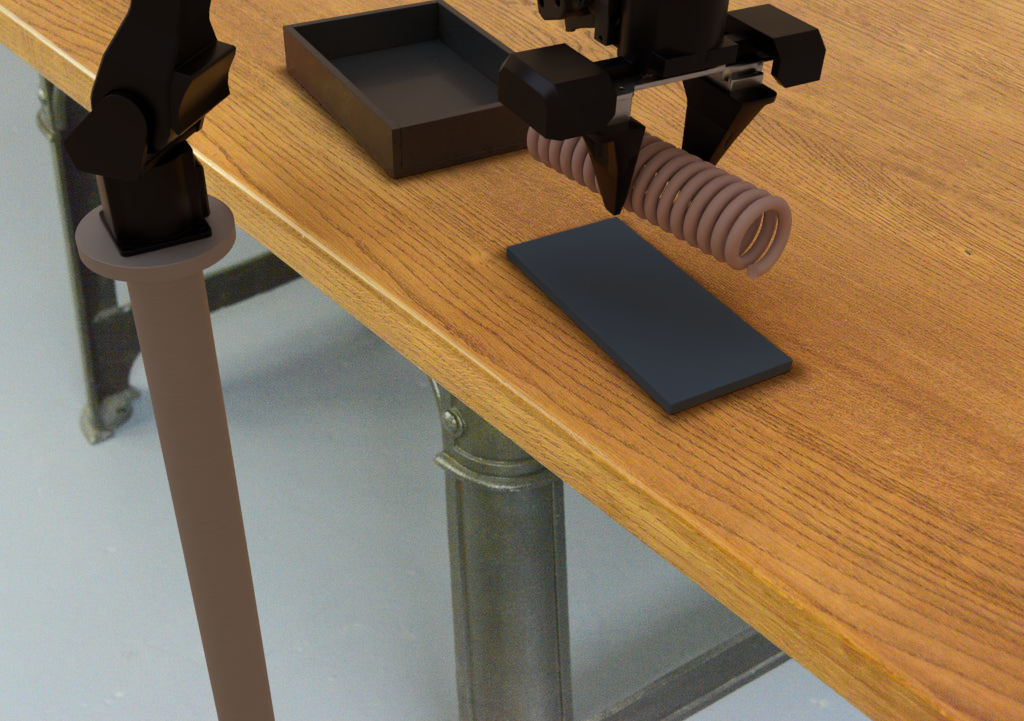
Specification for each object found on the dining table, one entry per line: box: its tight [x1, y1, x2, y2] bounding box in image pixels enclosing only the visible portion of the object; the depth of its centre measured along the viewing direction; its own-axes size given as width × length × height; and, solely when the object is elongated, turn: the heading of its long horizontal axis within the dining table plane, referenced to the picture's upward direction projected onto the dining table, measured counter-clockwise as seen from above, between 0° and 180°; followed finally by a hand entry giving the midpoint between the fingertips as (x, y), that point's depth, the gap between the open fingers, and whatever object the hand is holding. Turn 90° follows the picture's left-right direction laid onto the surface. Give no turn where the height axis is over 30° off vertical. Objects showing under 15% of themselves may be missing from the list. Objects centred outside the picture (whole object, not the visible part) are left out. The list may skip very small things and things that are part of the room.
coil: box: [527, 127, 793, 279], centre depth 68 cm, size 5×5×18 cm
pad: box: [505, 216, 794, 416], centre depth 74 cm, size 9×19×1 cm, turn 30°
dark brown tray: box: [282, 0, 530, 180], centre depth 96 cm, size 15×22×4 cm
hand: (650, 201), depth 69 cm, fingers closed on coil, 5 cm apart
